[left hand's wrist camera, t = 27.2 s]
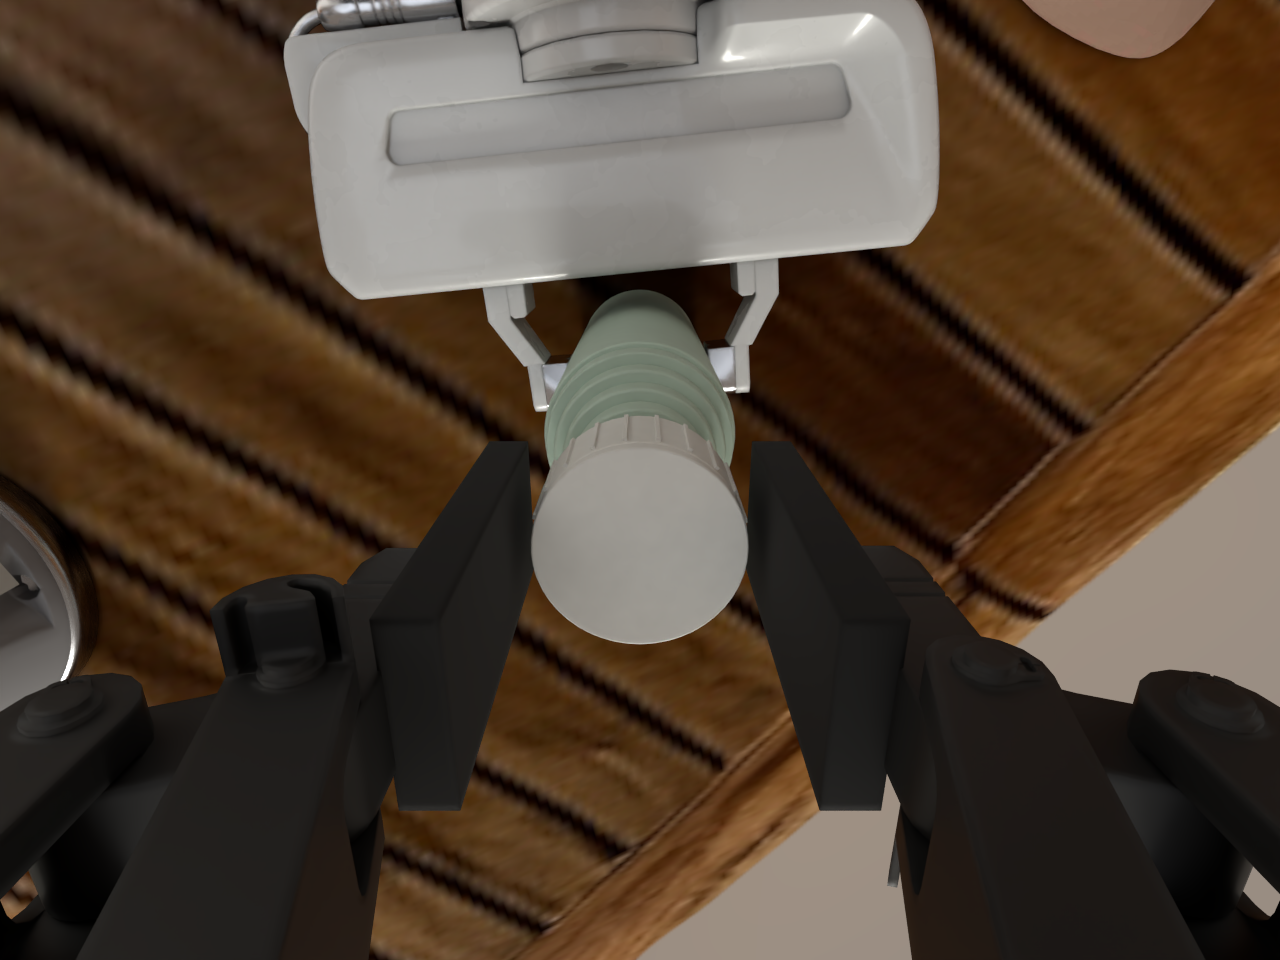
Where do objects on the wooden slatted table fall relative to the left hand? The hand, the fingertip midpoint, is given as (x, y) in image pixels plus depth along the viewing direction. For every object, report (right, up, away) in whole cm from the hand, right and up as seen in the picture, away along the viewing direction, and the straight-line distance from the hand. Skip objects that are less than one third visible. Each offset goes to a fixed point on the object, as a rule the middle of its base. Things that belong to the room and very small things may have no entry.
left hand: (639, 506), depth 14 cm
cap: (0, -1, -2) cm, 2 cm away
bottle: (0, +7, +17) cm, 19 cm away
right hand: (0, +4, +12) cm, 13 cm away
